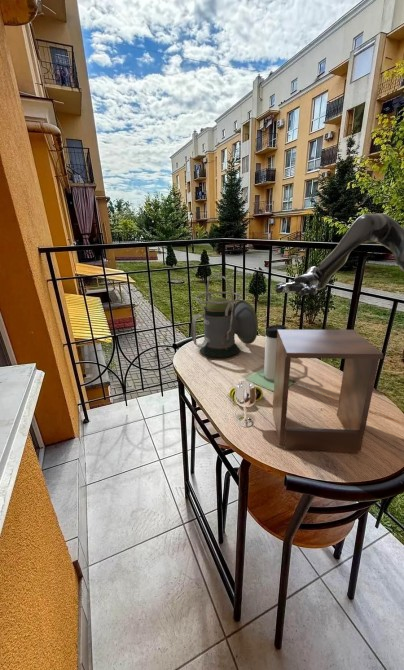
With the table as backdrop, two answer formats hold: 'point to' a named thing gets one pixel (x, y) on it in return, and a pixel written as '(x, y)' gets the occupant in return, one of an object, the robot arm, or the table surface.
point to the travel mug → (271, 351)
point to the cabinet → (352, 394)
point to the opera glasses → (258, 393)
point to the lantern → (225, 324)
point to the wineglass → (245, 400)
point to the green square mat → (263, 380)
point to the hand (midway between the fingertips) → (289, 291)
